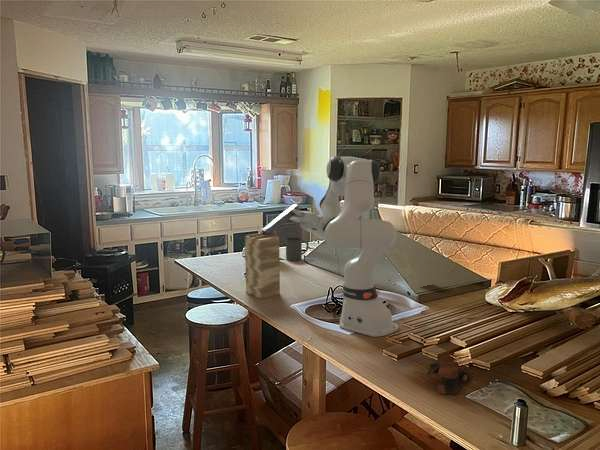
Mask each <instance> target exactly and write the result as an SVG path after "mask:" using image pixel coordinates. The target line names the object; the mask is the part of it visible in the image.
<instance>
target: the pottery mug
mask: <svg viewBox="0 0 600 450" xmlns="http://www.w3.org/2000/svg"><path fill="white" fill-rule="evenodd" d="M457 364H458V363H457V362H451V361H450V362H449V361H447V362H434V363H430V364H429V366H430V368H429V369H428V371H427V376H429V375H435V374H436V375H437V374H438V376H439V377H440V378H441V379H442V384H438V385H436V389H437V393H438V394H439V395H442V394H443V395H445V394H446V395H448V394H449V395H459V394H460V390H463V389H464V388H465V387H468V386H469V385H470V384H471V383H472V382H473V379H474V376H473V373H472V372H471V371H470V370H468V369H465V368H464V369H460V368H459V367H458V365H457ZM465 376H466V377H467V378H466V379H465V380H464V377H465Z"/></svg>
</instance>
